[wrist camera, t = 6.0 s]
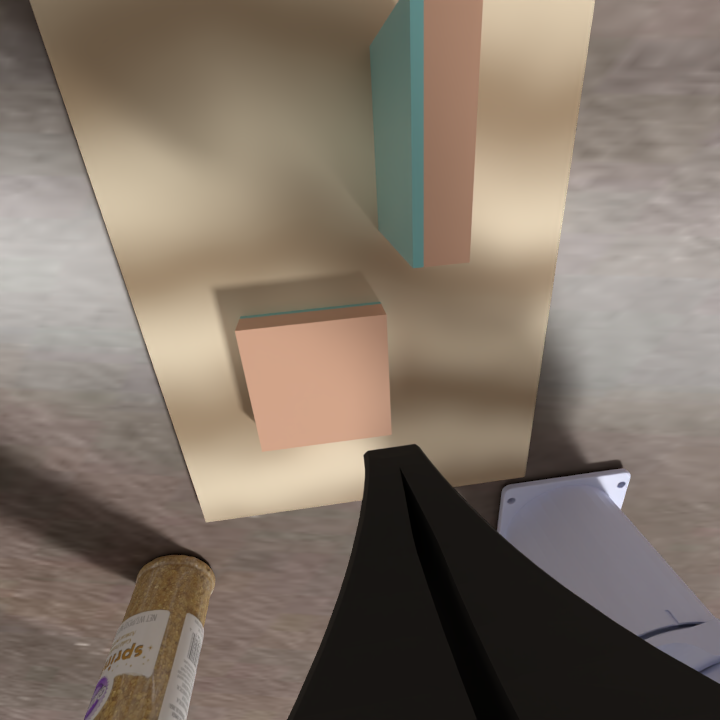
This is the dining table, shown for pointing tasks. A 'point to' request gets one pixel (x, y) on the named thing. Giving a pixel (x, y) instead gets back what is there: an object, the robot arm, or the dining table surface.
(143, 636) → the sprinkles bottle
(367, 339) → the tile
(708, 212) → the dining table surface
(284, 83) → the board
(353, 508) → the dining table surface
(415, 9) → the tile
